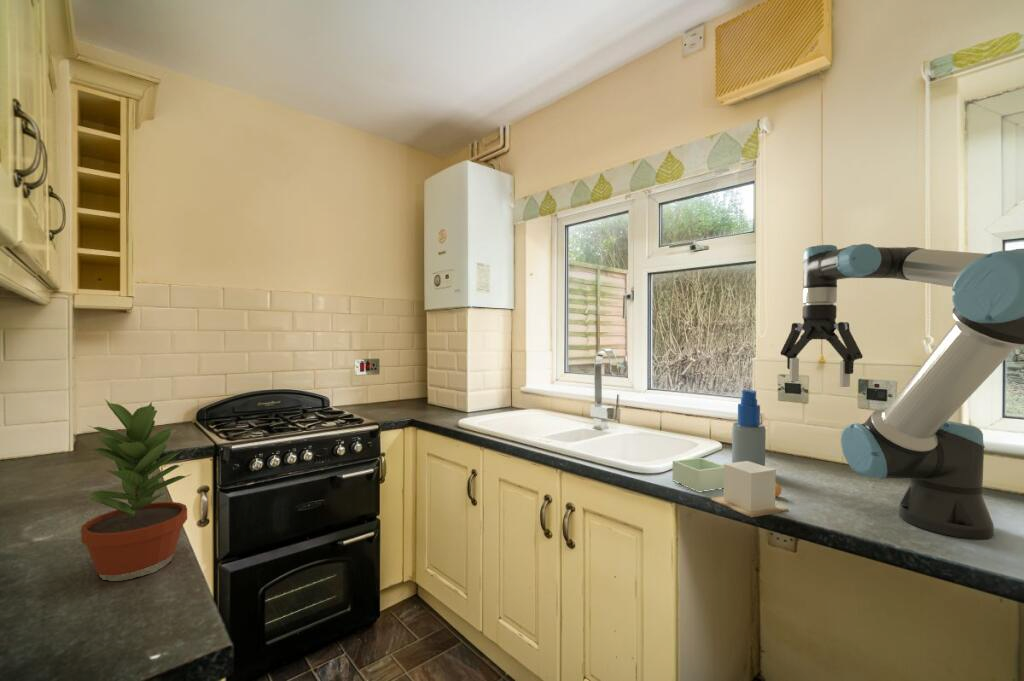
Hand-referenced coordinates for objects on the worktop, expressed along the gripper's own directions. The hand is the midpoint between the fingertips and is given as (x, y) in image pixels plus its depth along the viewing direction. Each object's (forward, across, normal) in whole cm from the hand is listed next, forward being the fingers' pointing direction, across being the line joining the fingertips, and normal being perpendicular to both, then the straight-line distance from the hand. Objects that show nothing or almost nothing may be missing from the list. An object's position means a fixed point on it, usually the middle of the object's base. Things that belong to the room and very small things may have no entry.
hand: (818, 384), depth 121 cm
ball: (+29, +1, +15) cm, 32 cm away
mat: (+29, -1, +26) cm, 39 cm away
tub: (+29, +15, +26) cm, 42 cm away
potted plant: (+29, +17, +153) cm, 157 cm away
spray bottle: (+29, +18, +4) cm, 34 cm away
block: (+28, -1, +26) cm, 38 cm away
